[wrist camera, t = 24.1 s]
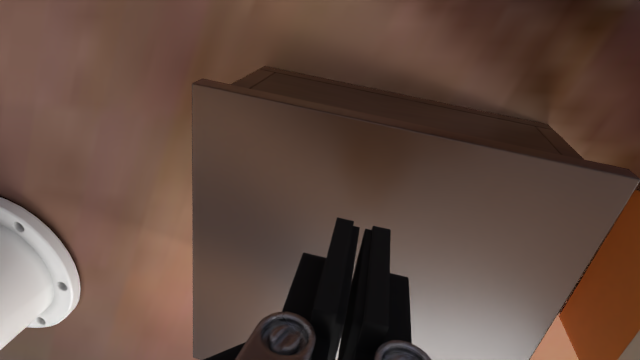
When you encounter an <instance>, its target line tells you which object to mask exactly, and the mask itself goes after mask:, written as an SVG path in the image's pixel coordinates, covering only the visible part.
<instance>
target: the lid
mask: <svg viewBox="0 0 640 360" xmlns="http://www.w3.org/2000/svg"><path fill="white" fill-rule="evenodd" d="M639 182H640V179H639V178H638V177H637V176H636V175H635V174H633V173H632V172H631V171H630V170H629V169H625V168H620V167H616V166H611V165H606V164H601V163H597V162H592V161H587V160H583V159H578V158H573V157H568V156H564V155H559V154H554V153H550V152H545V151H540V150H536V149H531V148H526V147H521V146H517V145H512V144H507V143H503V142H498V141H493V140H489V139H484V138H479V137H474V136H470V135H465V134H460V133H456V132H451V131H446V130H442V129H437V128H432V127H427V126H423V125H418V124H413V123H409V122H404V121H399V120H395V119H390V118H385V117H380V116H376V115H371V114H366V113H362V112H357V111H352V110H348V109H343V108H338V107H333V106H329V105H324V104H319V103H315V102H310V101H305V100H301V99H296V98H291V97H286V96H282V95H277V94H272V93H268V92H263V91H258V90H254V89H249V88H244V87H239V86H235V85H230V84H225V83H221V82H216V81H211V80H207V79H201V80H199V81H196V82H194V83H193V84H192V187H193V357H194V358H196V359H200V360H203V359H206V358H208V357H211V356H213V355H216V354H218V353H220V352H223V351H225V350H228V349H230V348H233V347H235V346H237V345H240V344H242V343H245V342H246V341H247V340H248V338H249V337H250V335H251V334H252V332H253V330H254V329H255V327H256V326H257V324H258V323H259V322H260V321H261V320H262V319H263V318H264V317H266V316H268V315H269V314H272V313H276V312H282V310H283V307H284V304H285V301H286V299H287V296H288V293H289V290H290V287H291V285H292V282H293V279H294V276H295V273H296V271H297V268H298V265H299V262H300V260H301V257H302V254H303V253H309V254H313V255H317V256H321V257H325V258H327V254H328V250H329V246H330V242H331V238H332V235H333V231H334V227H335V223H336V219H337V217H338V218H342V219H347V220H351V221H354V224H353V226H357V227H360V230H359V236H358V243H357V249H356V256H355V262H354V269H353V274H354V270H355V266H356V263H357V259H358V255H359V251H360V247H361V243H362V239H363V235H364V231H365V229H370V230H372V227H373V226H377V227H382V228H386V229H390V230H391V239H390V273H392V274H396V275H401V276H405V277H408V279H409V293H410V315H411V337H412V344H414V345H415V346H417V347H419V348H420V349H422V350H423V351H424V352H425V353H427V355H428V356H429V357H430V358H431V360H530V358H531V356H532V355H533V353H534V352H535V350H536V348H537V347H538V345H539V343H540V342H541V340H542V339H543V337H544V335H545V334H546V332H547V331H548V329H549V327H550V326H551V324H552V322H553V321H554V319H555V318H556V316H557V314H558V313H559V311H560V310H561V308H562V306H563V305H564V303H565V301H566V300H567V298H568V297H569V295H570V293H571V292H572V290H573V289H574V287H575V285H576V284H577V282H578V280H579V279H580V277H581V276H582V274H583V272H584V271H585V269H586V268H587V266H588V264H589V263H590V261H591V259H592V258H593V256H594V255H595V253H596V251H597V250H598V248H599V247H600V245H601V243H602V242H603V240H604V238H605V237H606V235H607V234H608V232H609V230H610V229H611V227H612V226H613V224H614V222H615V221H616V219H617V217H618V216H619V214H620V213H621V211H622V209H623V208H624V206H625V205H626V203H627V201H628V200H629V198H630V196H631V195H632V193H633V192H634V190H635V188H636V187H637V185H638V184H639ZM352 278H353V275H352ZM340 341H341V339H340ZM339 348H340V343H339V347H338V351H337V355H336V358H335V360H338V354H339Z"/></svg>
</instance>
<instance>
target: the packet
mask: <svg viewBox="0 0 640 360" xmlns="http://www.w3.org/2000/svg"><path fill="white" fill-rule="evenodd" d="M559 317H560V320H561V322H562V324H563V326H564V328H565V330H566V333H567V335H568V337H569V339H570V341H571V344H572V346H573V348H574V350H575V352H576V354H577V357H578V359H579V360H640V191H638V190H635V191H634V192H633V194H632V196H631V197H630V199H629V200H628V202H627V204H626V205H625V207H624V209H623V210H622V212H621V214H620V215H619V217H618V219H617V220H616V222H615V224H614V225H613V227H612V229H611V230H610V232H609V234H608V235H607V237H606V239H605V240H604V242H603V244H602V245H601V247H600V249H599V250H598V252H597V254H596V255H595V257H594V259H593V260H592V262H591V264H590V265H589V267H588V269H587V270H586V272H585V274H584V275H583V277H582V279H581V280H580V282H579V284H578V285H577V287H576V289H575V290H574V292H573V294H572V295H571V297H570V299H569V300H568V302H567V304H566V305H565V307H564V309H563V310H562V312H561V314H560V315H559Z"/></svg>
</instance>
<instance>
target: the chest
mask: <svg viewBox="0 0 640 360" xmlns="http://www.w3.org/2000/svg"><path fill="white" fill-rule="evenodd" d="M231 85H235V86H239V87H244V88H249V89H254V90H258V91H263V92H268V93H272V94H277V95H282V96H286V97H291V98H296V99H301V100H305V101H310V102H315V103H319V104H324V105H329V106H333V107H338V108H343V109H348V110H352V111H357V112H362V113H366V114H371V115H376V116H380V117H385V118H390V119H395V120H399V121H404V122H409V123H413V124H418V125H423V126H427V127H432V128H437V129H442V130H446V131H451V132H456V133H460V134H465V135H470V136H474V137H479V138H484V139H489V140H493V141H498V142H503V143H507V144H512V145H517V146H521V147H526V148H531V149H536V150H540V151H545V152H550V153H554V154H559V155H564V156H568V157H573V158H578V159H583V158H582V157H581V156H580V155H579V154H578V153H577V152H576V151H575V150H574V149H573V148H572V147H571V146H570V145H569V144H568V143H567V142H566V141H565V140H564V139H563V138H562V137H561V136H560V135H559V134H558V133H556V132H555V131H554V130H553V129H552V128H551V127H550V126H549V125H548V124H543V123H538V122H533V121H528V120H523V119H519V118H514V117H509V116H504V115H499V114H494V113H489V112H485V111H480V110H475V109H470V108H465V107H460V106H455V105H450V104H446V103H441V102H436V101H431V100H426V99H421V98H416V97H412V96H407V95H402V94H397V93H392V92H387V91H382V90H377V89H373V88H368V87H363V86H358V85H353V84H348V83H343V82H339V81H334V80H329V79H324V78H319V77H314V76H309V75H305V74H300V73H295V72H290V71H285V70H280V69H275V68H270V67H266V66H265V67H262V68H261V69H259V70H257V71H255V72H253V73H251V74H249V75H247V76H246V77H244V78H242V79H240V80H238V81H236V82H235V83H233V84H231ZM583 160H584V159H583Z"/></svg>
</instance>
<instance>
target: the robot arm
mask: <svg viewBox="0 0 640 360" xmlns="http://www.w3.org/2000/svg"><path fill="white" fill-rule="evenodd" d="M353 224H354V221H351V220H347V219H342V218H338V217H337V219H336V223H335V227H334V231H333V235H332V238H331V242H330V246H329V250H328V254H327V258H325V257H321V256H317V255H313V254H309V253H303V254H302V257H301V260H300V262H299V265H298V268H297V271H296V273H295V276H294V279H293V282H292V285H291V287H290V290H289V293H288V296H287V299H286V301H285V304H284V307H283V310H282V312H276V313H272V314H269V315H268V316H266V317H264V318H263V319H262V320H261V321H260V322H259V323H258V324H257V326H256V327H255V329H254V330H253V332H252V334H251V335H250V337H249V338H248V340H247V341H246V342H245V343H242V344H240V345H237V346H235V347H233V348H230V349H228V350H225V351H223V352H220V353H218V354H216V355H213V356H211V357H208V358H206V359H203V360H335V358H336V355H337V351H338V347H339V343H340V348H339V354H338V360H431V358H430V357H429V356H428V355H427V353H425V352H424V351H423V350H422V349H420V348H419V347H417V346H415V345H414V344H412V337H411V315H410V293H409V279H408V277H405V276H401V275H396V274H392V273H390V239H391V230H390V229H386V228H382V227H377V226H373V227H372V230H370V229H365V231H364V235H363V239H362V243H361V247H360V251H359V255H358V259H357V263H356V266H355V270H354V274H353V269H354V262H355V256H356V249H357V243H358V236H359V230H360V227H357V226H353ZM352 275H353V278H352ZM80 291H81V288H80V279H79V275H78V272H77V269H76V266H75V263H74V262H73V260H72V258H71V256H70V254H69V252H68V251H67V249H66V248H65V246H64V245H63V243H62V242H61V241H60V239H59V238H58V237H57V236H56V235H55V234H54V233H53V232H52V231H51V229H50V228H49V227H47V226H46V225H45V224H44V223H43V222H42V221H41V220H39V219H38V218H37V217H36V216H34V215H33V214H31V213H30V212H28V211H27V210H26V209H24V208H23V207H21V206H19V205H17V204H15V203H13V202H11V201H9V200H7V199H4V198H1V197H0V350H1V349H2V348H3V347H4V346H5V345H7V344H8V343H9V342H10V341H11V340H12V339H13V338H14V337H16V336H17V335H18V334H19V333H20V332H21V331H22V330H23V329H25V328H26V327H34V328H42V327H50V326H53V325H55V324H58V323H59V322H61V321H62V320H63V319H65V318H66V317H67V316H68V315H69V314H70V313H71V312H72V311H73V310H74V309H75V307H76V305H77V303H78V301H79V298H80ZM340 339H341V341H340Z"/></svg>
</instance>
